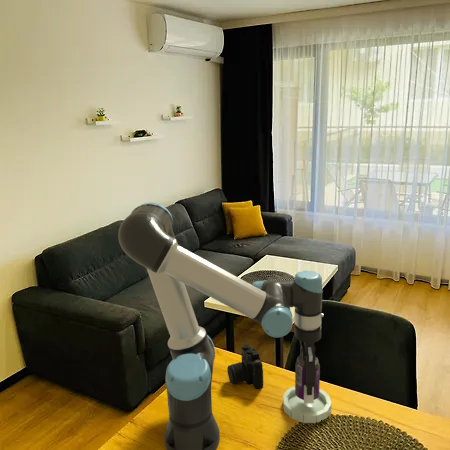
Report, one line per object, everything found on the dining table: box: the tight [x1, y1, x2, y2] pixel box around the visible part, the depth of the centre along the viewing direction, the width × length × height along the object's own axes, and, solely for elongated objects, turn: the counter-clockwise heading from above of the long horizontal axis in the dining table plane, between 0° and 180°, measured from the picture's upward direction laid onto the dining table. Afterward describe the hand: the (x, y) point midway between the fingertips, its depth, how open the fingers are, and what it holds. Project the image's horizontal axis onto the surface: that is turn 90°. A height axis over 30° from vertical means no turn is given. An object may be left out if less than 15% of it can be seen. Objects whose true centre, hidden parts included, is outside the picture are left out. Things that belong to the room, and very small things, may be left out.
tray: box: [282, 385, 332, 424], centre depth 131 cm, size 14×14×2 cm
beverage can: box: [294, 354, 321, 400], centre depth 129 cm, size 7×7×12 cm
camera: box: [227, 343, 264, 391], centre depth 145 cm, size 14×11×10 cm
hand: (306, 393), depth 130 cm, fingers closed on beverage can, 7 cm apart
